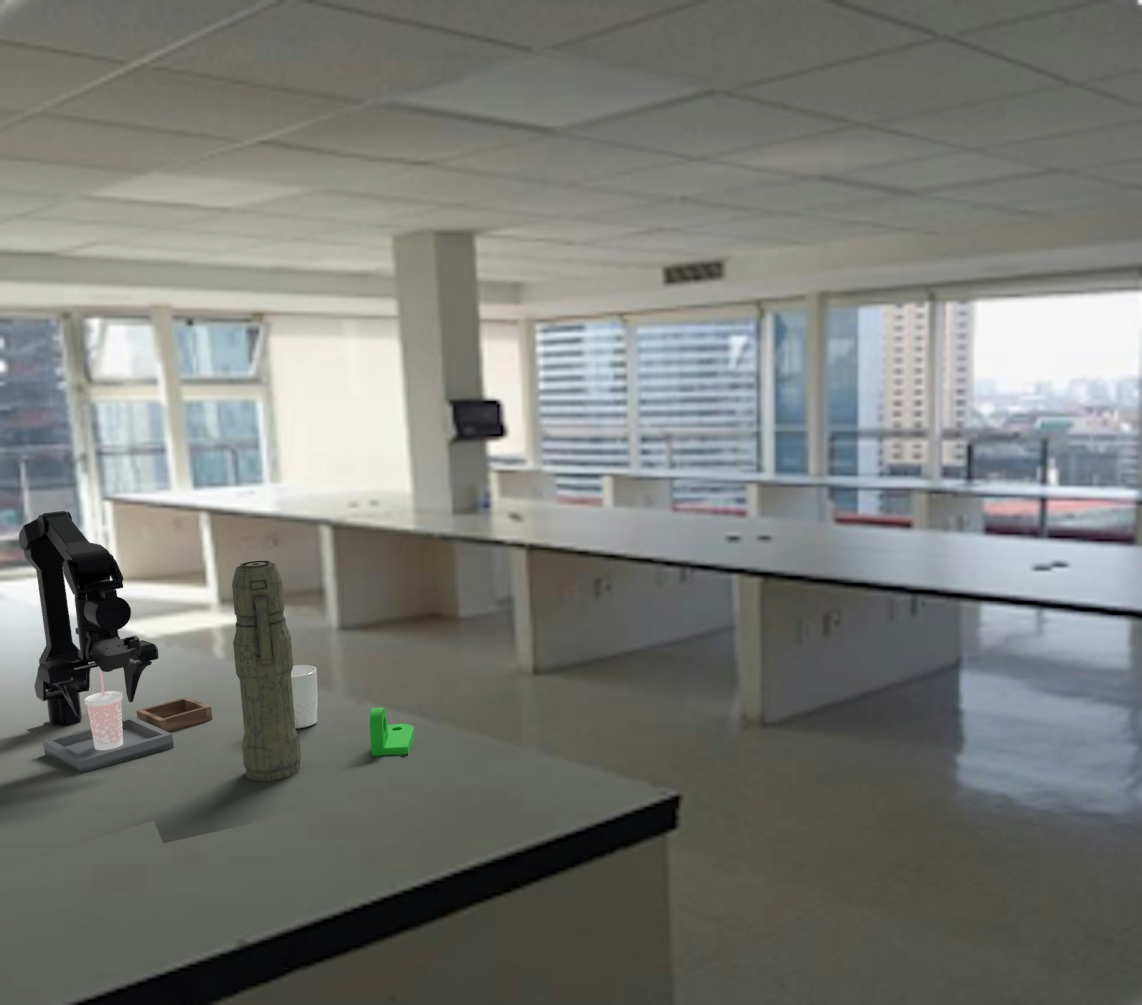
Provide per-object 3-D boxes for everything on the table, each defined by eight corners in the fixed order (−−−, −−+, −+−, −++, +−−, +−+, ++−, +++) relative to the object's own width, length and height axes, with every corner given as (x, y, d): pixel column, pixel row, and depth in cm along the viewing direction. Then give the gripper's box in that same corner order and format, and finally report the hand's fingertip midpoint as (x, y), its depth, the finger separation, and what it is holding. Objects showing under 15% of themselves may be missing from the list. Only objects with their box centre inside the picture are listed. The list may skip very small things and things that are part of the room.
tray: (44, 754, 183) (43, 741, 183) (134, 729, 195) (133, 716, 194) (80, 775, 172) (79, 761, 172) (173, 747, 184) (172, 733, 183)
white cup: (309, 730, 189) (304, 677, 188) (269, 729, 191) (264, 676, 190) (327, 716, 197) (323, 664, 196) (289, 715, 198) (285, 664, 197)
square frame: (137, 723, 198) (136, 710, 198) (187, 709, 205) (186, 696, 205) (161, 733, 191) (160, 720, 191) (212, 719, 198) (211, 706, 198)
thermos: (254, 794, 161) (234, 572, 156) (239, 770, 171) (219, 561, 166) (311, 781, 165) (293, 564, 160) (292, 759, 175) (275, 554, 171)
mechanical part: (408, 758, 174) (405, 711, 173) (372, 760, 173) (368, 714, 172) (416, 733, 185) (413, 690, 184) (382, 735, 185) (379, 692, 184)
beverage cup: (111, 752, 180) (102, 674, 178) (82, 750, 181) (73, 673, 180) (135, 740, 185) (127, 664, 184) (106, 738, 187) (98, 663, 185)
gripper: (57, 640, 168) (67, 732, 170) (168, 616, 182) (176, 703, 184) (32, 630, 176) (42, 719, 178) (140, 609, 189) (148, 692, 191)
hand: (104, 708), depth 182 cm, fingers open, 9 cm apart
